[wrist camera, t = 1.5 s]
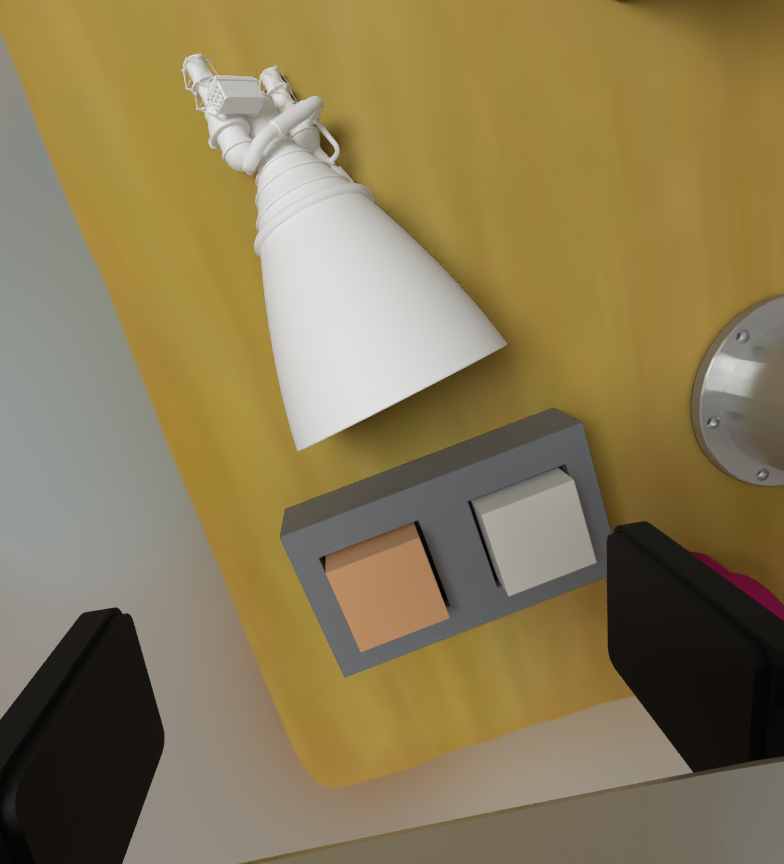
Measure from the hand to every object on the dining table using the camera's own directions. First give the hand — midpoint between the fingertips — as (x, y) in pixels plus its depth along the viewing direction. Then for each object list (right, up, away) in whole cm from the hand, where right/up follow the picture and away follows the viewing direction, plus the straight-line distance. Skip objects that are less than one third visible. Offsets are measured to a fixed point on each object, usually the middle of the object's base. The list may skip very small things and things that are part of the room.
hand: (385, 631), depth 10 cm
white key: (+8, -2, +22) cm, 23 cm away
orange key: (0, -5, +22) cm, 22 cm away
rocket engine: (-2, +14, +20) cm, 25 cm away
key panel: (+4, -2, +25) cm, 25 cm away
